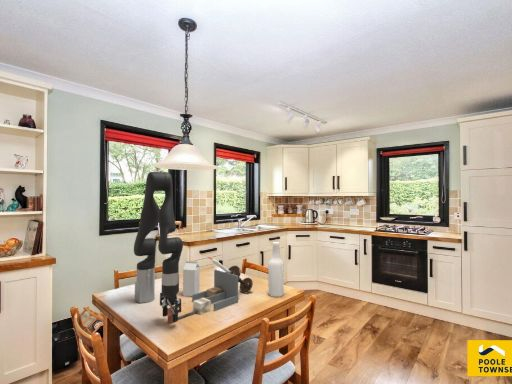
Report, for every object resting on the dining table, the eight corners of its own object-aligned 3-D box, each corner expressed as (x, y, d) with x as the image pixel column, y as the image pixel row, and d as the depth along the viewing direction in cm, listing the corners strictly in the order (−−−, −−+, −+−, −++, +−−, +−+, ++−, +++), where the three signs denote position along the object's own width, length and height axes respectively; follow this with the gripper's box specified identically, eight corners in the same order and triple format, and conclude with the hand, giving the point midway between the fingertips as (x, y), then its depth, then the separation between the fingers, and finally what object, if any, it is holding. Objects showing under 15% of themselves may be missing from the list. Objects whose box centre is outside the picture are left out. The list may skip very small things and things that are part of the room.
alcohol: (275, 298, 155) (275, 244, 155) (265, 293, 162) (265, 242, 162) (286, 295, 160) (286, 242, 160) (276, 290, 167) (276, 240, 168)
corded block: (172, 324, 122) (172, 311, 122) (165, 320, 126) (165, 307, 126) (210, 310, 138) (210, 298, 138) (203, 307, 142) (203, 295, 142)
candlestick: (238, 296, 164) (198, 268, 144) (239, 279, 172) (202, 251, 153) (253, 291, 160) (215, 262, 140) (254, 274, 168) (217, 244, 148)
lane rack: (214, 311, 137) (215, 282, 137) (192, 301, 150) (192, 275, 150) (238, 302, 149) (238, 275, 149) (215, 293, 162) (215, 269, 162)
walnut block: (213, 301, 150) (213, 292, 150) (206, 298, 154) (206, 289, 154) (221, 298, 155) (221, 289, 155) (214, 295, 159) (214, 286, 159)
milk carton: (194, 296, 156) (194, 262, 157) (182, 296, 158) (183, 262, 158) (199, 292, 163) (199, 260, 164) (188, 291, 165) (188, 259, 165)
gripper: (154, 280, 127) (154, 316, 127) (171, 287, 117) (171, 326, 117) (169, 277, 132) (169, 311, 132) (186, 283, 123) (186, 320, 122)
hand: (170, 318), depth 125 cm, fingers open, 8 cm apart
